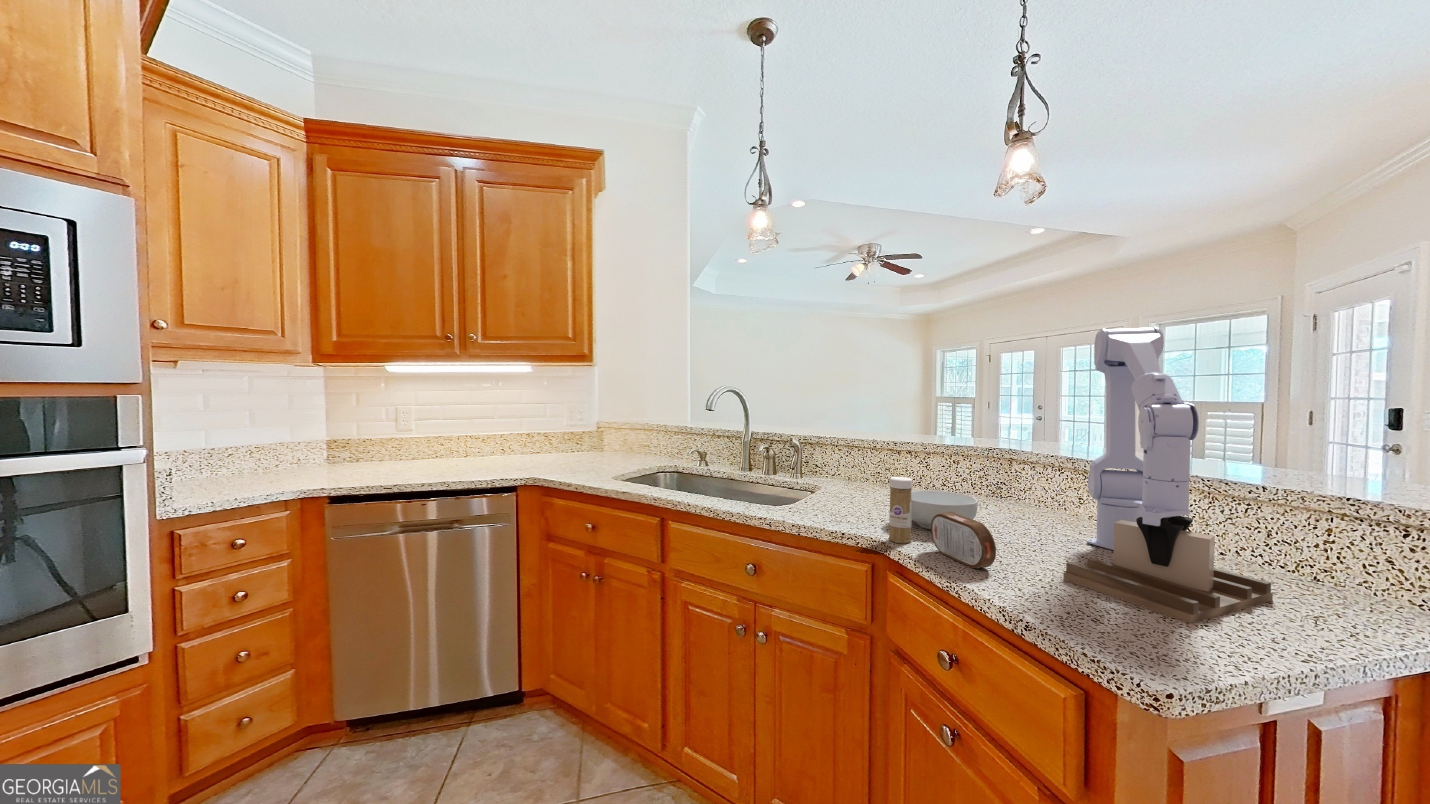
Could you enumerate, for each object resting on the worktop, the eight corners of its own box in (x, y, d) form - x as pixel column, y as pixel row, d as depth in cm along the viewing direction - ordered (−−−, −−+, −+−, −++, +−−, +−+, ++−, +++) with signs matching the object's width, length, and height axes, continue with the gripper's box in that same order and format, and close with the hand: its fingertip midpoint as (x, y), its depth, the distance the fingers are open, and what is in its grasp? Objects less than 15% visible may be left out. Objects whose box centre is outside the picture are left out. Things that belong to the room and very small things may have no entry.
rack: (1141, 563, 98) (1142, 548, 98) (1272, 600, 82) (1273, 582, 81) (1063, 579, 91) (1063, 563, 90) (1190, 623, 74) (1190, 603, 74)
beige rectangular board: (1119, 565, 92) (1120, 519, 92) (1213, 586, 82) (1214, 535, 82) (1113, 569, 90) (1114, 522, 90) (1208, 591, 80) (1209, 539, 80)
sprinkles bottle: (888, 542, 111) (888, 479, 111) (889, 536, 116) (890, 475, 115) (911, 545, 110) (912, 480, 109) (912, 539, 114) (912, 476, 113)
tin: (997, 573, 94) (998, 526, 93) (982, 575, 93) (982, 527, 92) (941, 548, 108) (941, 506, 108) (927, 549, 107) (928, 507, 107)
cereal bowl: (994, 534, 117) (994, 502, 117) (924, 538, 115) (924, 506, 114) (948, 515, 134) (949, 487, 134) (886, 518, 131) (887, 490, 131)
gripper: (1148, 470, 93) (1146, 547, 93) (1119, 480, 84) (1117, 564, 85) (1202, 476, 87) (1200, 558, 88) (1177, 487, 79) (1174, 577, 79)
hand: (1163, 562), depth 86 cm, fingers closed on beige rectangular board, 3 cm apart
